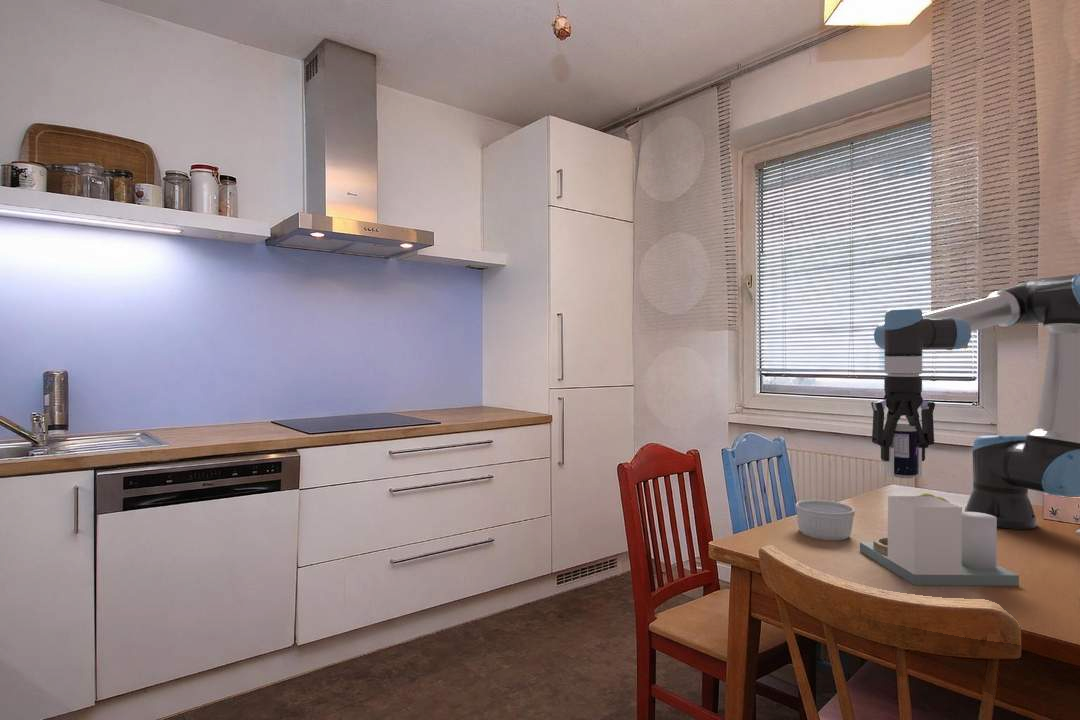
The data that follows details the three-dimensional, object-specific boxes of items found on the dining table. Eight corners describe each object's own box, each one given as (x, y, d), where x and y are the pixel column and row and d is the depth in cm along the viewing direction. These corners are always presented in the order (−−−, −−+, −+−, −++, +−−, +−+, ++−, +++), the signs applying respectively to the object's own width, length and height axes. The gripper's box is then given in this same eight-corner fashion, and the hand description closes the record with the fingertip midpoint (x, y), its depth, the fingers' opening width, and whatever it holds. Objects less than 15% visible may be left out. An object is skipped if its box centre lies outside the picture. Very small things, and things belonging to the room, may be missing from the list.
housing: (931, 559, 125) (931, 496, 125) (961, 574, 116) (962, 507, 116) (887, 558, 125) (888, 496, 125) (914, 574, 116) (914, 507, 116)
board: (949, 551, 136) (949, 498, 135) (1018, 585, 116) (1019, 523, 115) (859, 551, 136) (860, 497, 136) (914, 585, 116) (914, 522, 116)
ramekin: (826, 545, 140) (827, 515, 140) (783, 530, 152) (783, 502, 152) (866, 538, 145) (867, 509, 145) (821, 524, 157) (821, 497, 157)
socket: (907, 543, 135) (907, 536, 135) (935, 557, 125) (935, 550, 125) (864, 543, 135) (865, 536, 135) (889, 557, 125) (889, 550, 125)
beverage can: (921, 479, 137) (921, 426, 137) (894, 478, 138) (894, 426, 138) (911, 474, 142) (911, 423, 142) (885, 473, 143) (885, 423, 143)
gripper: (933, 374, 143) (932, 471, 144) (854, 375, 144) (854, 472, 144) (954, 375, 136) (954, 478, 136) (871, 376, 136) (871, 478, 136)
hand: (902, 474), depth 140 cm, fingers closed on beverage can, 6 cm apart
